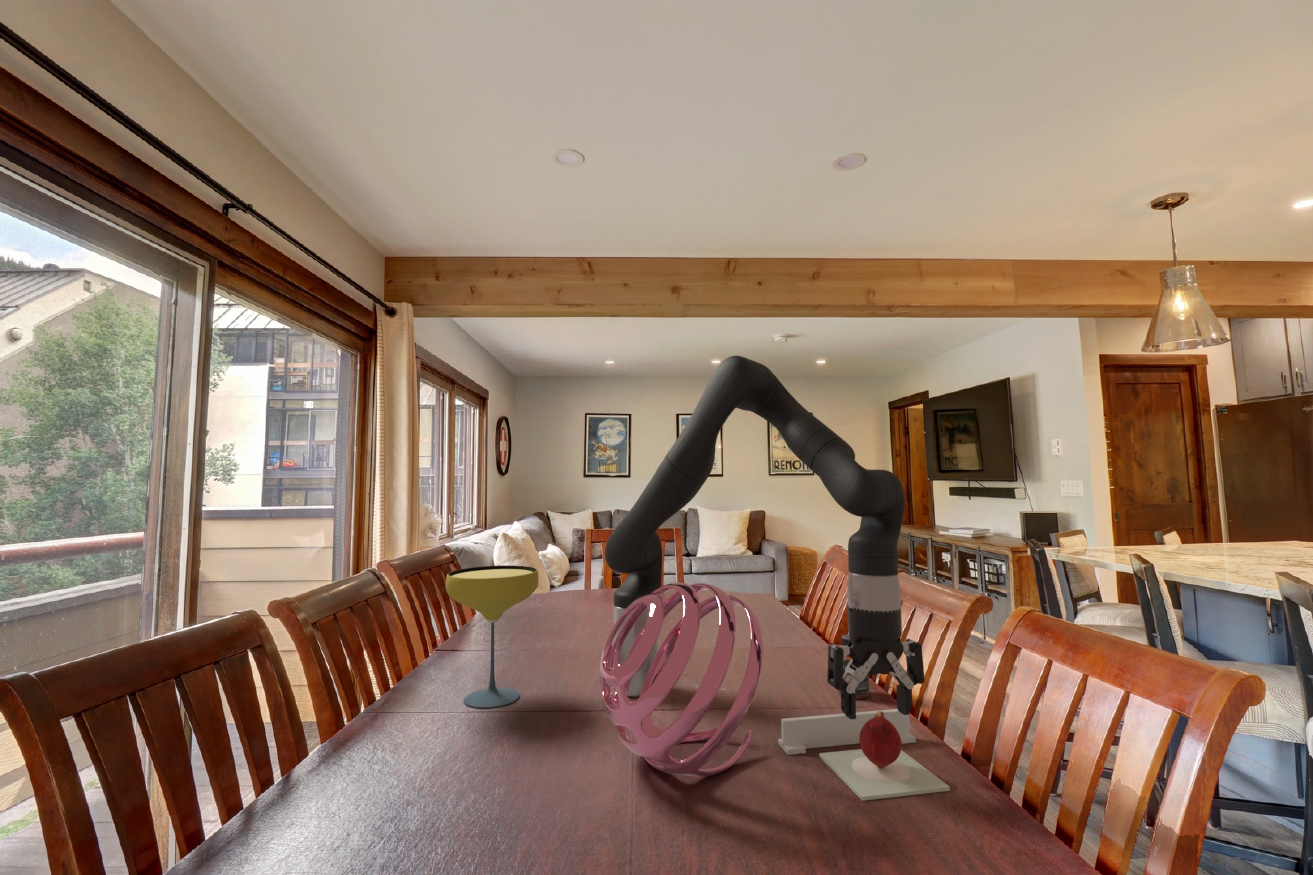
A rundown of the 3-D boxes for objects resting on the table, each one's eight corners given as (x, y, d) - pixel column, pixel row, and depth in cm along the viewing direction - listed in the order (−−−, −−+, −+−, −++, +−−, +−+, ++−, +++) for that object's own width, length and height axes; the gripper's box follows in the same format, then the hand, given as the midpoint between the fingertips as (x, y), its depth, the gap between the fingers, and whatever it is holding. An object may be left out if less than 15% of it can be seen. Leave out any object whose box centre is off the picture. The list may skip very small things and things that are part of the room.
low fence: (787, 754, 93) (787, 725, 93) (778, 743, 97) (777, 715, 97) (915, 742, 96) (914, 713, 97) (901, 732, 100) (900, 704, 101)
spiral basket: (771, 605, 110) (657, 528, 103) (850, 694, 83) (703, 597, 76) (681, 726, 110) (560, 657, 103) (730, 853, 83) (572, 772, 76)
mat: (862, 800, 79) (862, 796, 79) (819, 756, 92) (819, 752, 92) (949, 790, 81) (949, 786, 82) (895, 748, 94) (895, 745, 94)
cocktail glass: (544, 707, 113) (545, 575, 115) (444, 722, 107) (446, 581, 109) (531, 678, 130) (531, 563, 132) (443, 689, 124) (445, 568, 126)
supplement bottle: (833, 690, 121) (831, 633, 122) (861, 688, 121) (859, 632, 122) (845, 700, 115) (843, 641, 116) (874, 699, 116) (872, 640, 116)
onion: (905, 779, 83) (905, 721, 84) (862, 775, 85) (862, 717, 85) (897, 760, 89) (896, 706, 90) (857, 756, 90) (856, 702, 91)
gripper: (902, 596, 93) (906, 702, 92) (818, 600, 91) (820, 708, 90) (932, 606, 86) (936, 721, 85) (841, 610, 84) (844, 729, 82)
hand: (876, 715), depth 87 cm, fingers open, 8 cm apart
